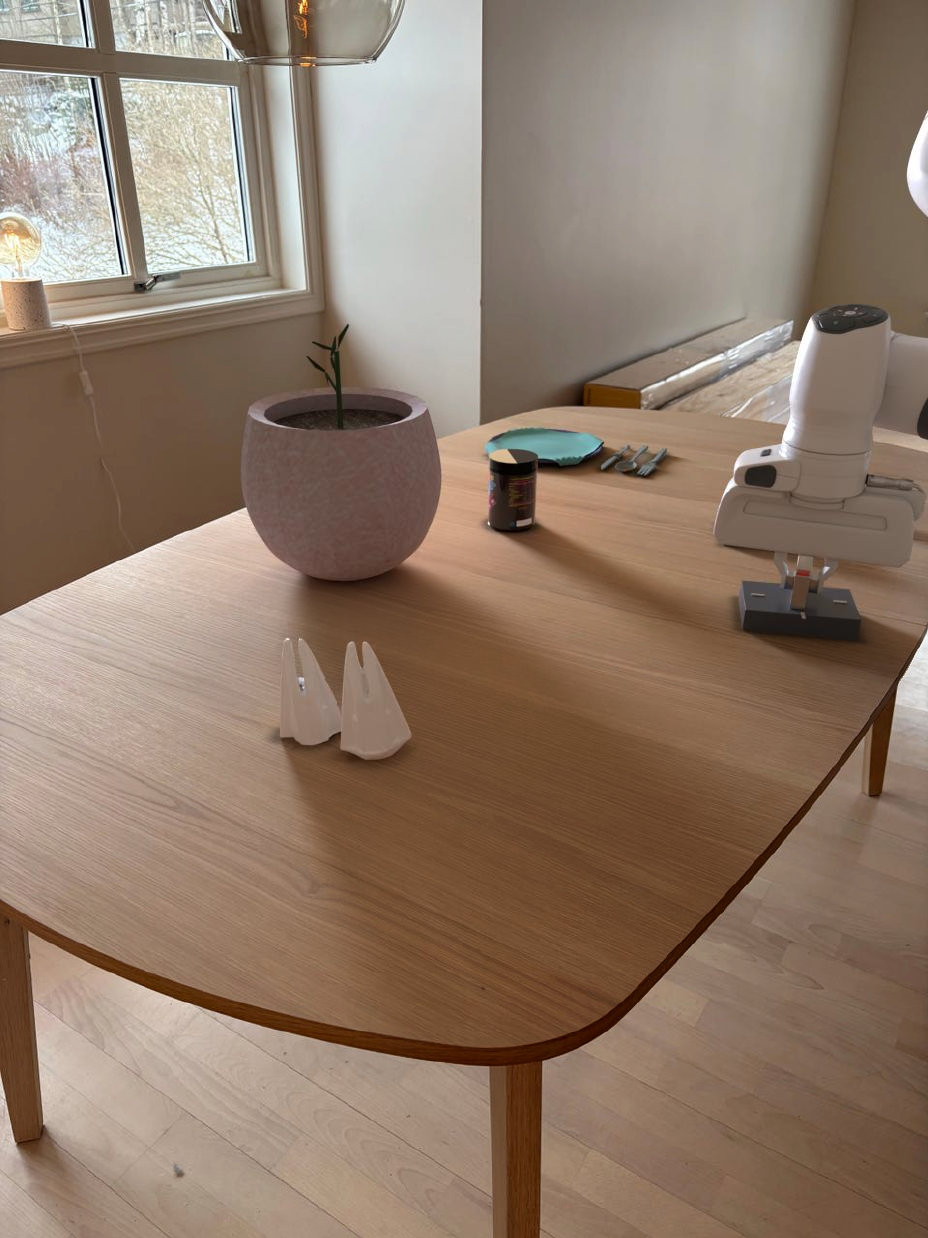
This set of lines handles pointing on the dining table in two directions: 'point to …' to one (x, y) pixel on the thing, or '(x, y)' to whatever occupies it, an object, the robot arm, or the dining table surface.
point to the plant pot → (341, 476)
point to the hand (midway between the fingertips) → (800, 589)
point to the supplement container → (512, 490)
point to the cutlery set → (564, 447)
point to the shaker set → (366, 704)
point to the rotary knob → (801, 582)
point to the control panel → (798, 612)
